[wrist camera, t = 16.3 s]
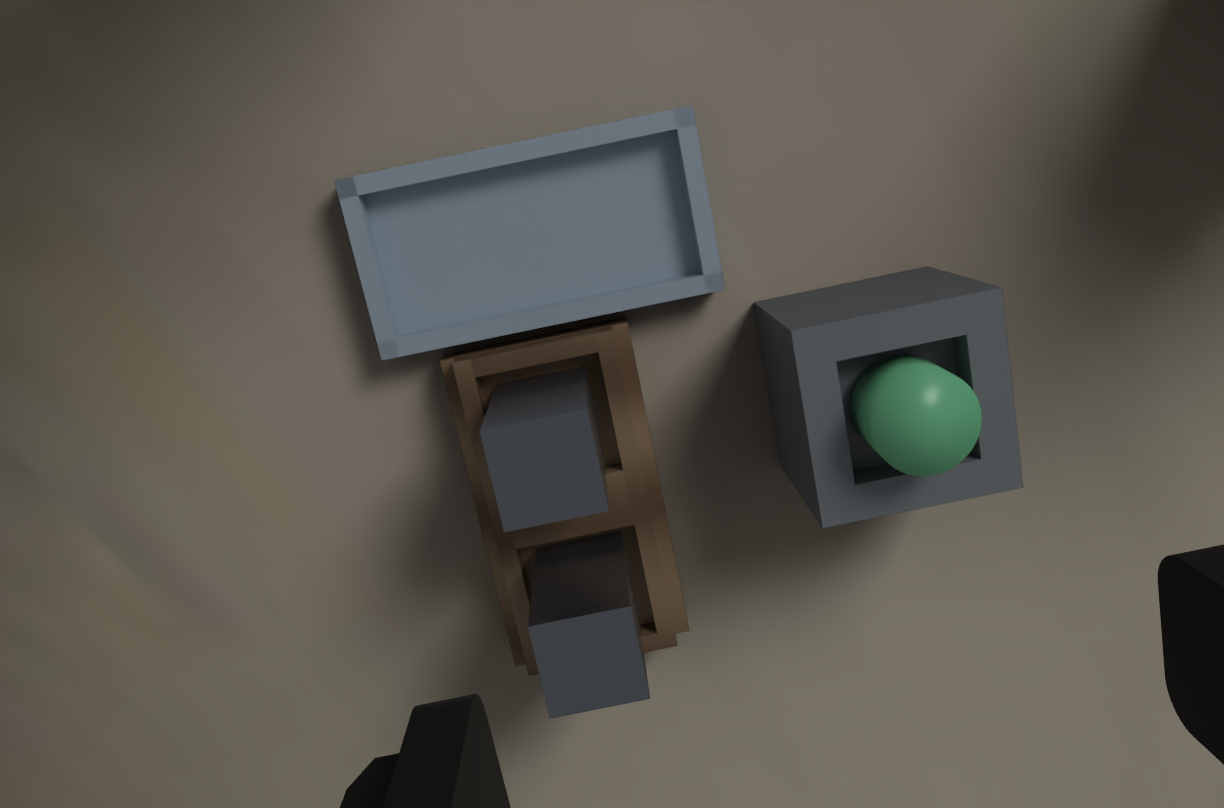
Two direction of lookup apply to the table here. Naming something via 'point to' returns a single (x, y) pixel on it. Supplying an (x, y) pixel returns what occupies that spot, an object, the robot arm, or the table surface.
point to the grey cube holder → (846, 348)
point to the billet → (586, 626)
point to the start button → (916, 414)
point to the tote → (533, 233)
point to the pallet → (625, 464)
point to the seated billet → (545, 450)
